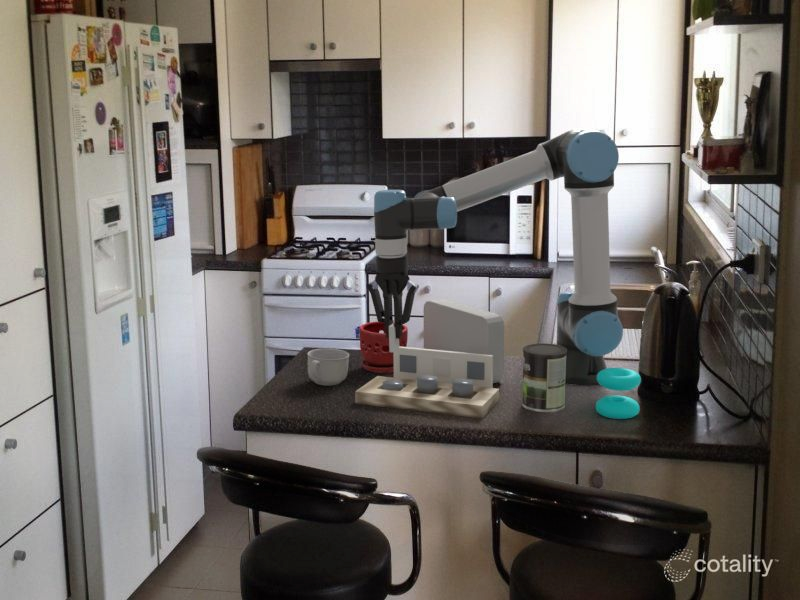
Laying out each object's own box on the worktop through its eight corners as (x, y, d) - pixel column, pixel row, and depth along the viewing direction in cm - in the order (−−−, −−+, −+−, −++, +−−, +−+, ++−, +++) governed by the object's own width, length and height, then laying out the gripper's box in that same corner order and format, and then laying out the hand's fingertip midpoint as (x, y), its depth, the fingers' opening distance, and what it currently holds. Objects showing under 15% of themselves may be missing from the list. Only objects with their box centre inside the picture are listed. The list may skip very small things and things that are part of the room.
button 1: (406, 392, 239) (406, 380, 238) (398, 398, 234) (398, 386, 233) (387, 390, 240) (387, 378, 240) (379, 396, 236) (379, 384, 235)
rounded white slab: (510, 382, 250) (511, 314, 246) (487, 387, 246) (488, 318, 242) (445, 358, 273) (445, 296, 269) (423, 362, 269) (423, 299, 265)
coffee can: (524, 412, 226) (525, 354, 223) (520, 399, 236) (521, 343, 233) (568, 412, 226) (569, 354, 223) (562, 399, 236) (563, 343, 233)
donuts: (598, 365, 229) (642, 367, 226) (597, 405, 231) (640, 408, 228) (595, 376, 219) (640, 379, 217) (593, 418, 221) (638, 422, 219)
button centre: (440, 388, 235) (440, 376, 234) (433, 394, 230) (433, 382, 230) (421, 386, 237) (421, 374, 236) (414, 391, 232) (414, 379, 232)
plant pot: (354, 374, 258) (353, 330, 255) (367, 361, 270) (366, 319, 268) (401, 377, 255) (401, 333, 252) (412, 364, 267) (412, 321, 265)
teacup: (326, 374, 258) (325, 345, 257) (358, 380, 252) (357, 351, 250) (291, 387, 247) (290, 357, 245) (323, 394, 241) (323, 363, 239)
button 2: (476, 392, 232) (476, 380, 231) (469, 398, 227) (469, 385, 226) (456, 390, 233) (456, 378, 233) (449, 395, 229) (449, 383, 228)
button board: (499, 400, 235) (499, 388, 234) (482, 418, 222) (482, 405, 221) (377, 387, 246) (377, 375, 246) (355, 403, 234) (355, 391, 233)
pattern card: (494, 391, 242) (495, 353, 240) (489, 397, 237) (489, 358, 235) (398, 381, 251) (397, 344, 249) (391, 386, 247) (390, 348, 245)
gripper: (422, 253, 231) (424, 348, 236) (372, 251, 236) (375, 345, 241) (411, 258, 224) (414, 356, 229) (360, 256, 229) (363, 353, 234)
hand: (394, 350), depth 235 cm, fingers closed
